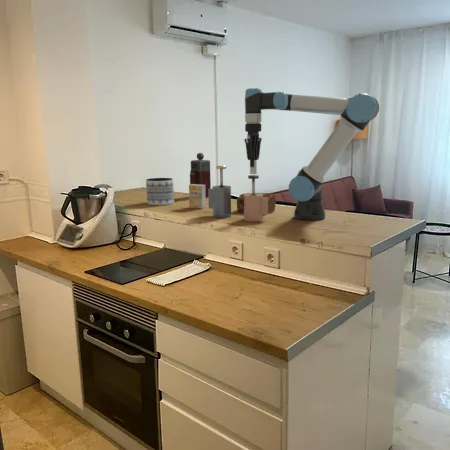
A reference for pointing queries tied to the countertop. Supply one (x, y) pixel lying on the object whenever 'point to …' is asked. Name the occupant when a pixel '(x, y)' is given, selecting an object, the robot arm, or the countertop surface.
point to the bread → (266, 195)
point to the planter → (160, 191)
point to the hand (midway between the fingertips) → (253, 173)
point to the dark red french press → (200, 172)
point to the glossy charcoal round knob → (253, 182)
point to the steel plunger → (221, 174)
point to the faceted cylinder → (220, 201)
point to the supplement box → (197, 196)
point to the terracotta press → (255, 207)
